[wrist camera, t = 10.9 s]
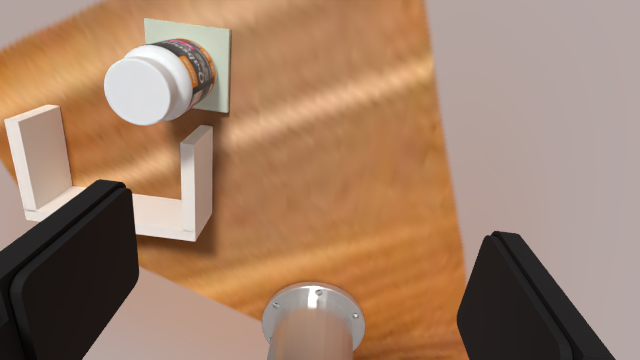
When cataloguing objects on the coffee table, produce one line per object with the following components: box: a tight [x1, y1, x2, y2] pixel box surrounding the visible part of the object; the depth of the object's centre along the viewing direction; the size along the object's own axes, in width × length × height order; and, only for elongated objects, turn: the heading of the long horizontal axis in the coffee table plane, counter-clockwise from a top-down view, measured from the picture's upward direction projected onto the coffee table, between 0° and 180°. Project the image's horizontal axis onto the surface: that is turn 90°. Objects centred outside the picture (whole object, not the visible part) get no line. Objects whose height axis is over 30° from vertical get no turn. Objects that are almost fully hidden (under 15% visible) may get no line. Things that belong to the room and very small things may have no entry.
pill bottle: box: [104, 38, 217, 125], centre depth 31 cm, size 6×6×10 cm
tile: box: [144, 18, 231, 113], centre depth 36 cm, size 8×8×1 cm
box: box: [4, 105, 213, 241], centre depth 38 cm, size 10×16×6 cm, turn 83°
